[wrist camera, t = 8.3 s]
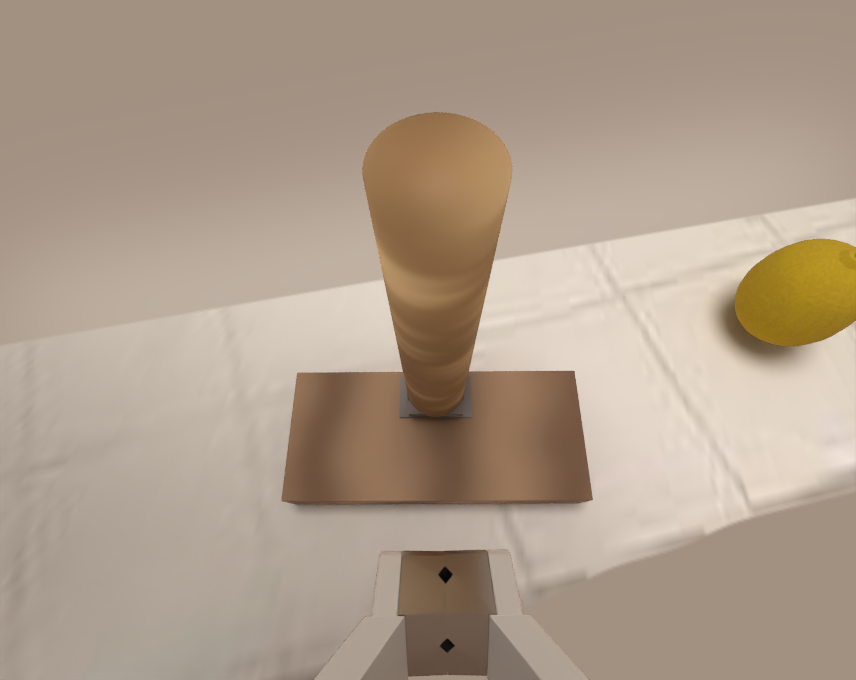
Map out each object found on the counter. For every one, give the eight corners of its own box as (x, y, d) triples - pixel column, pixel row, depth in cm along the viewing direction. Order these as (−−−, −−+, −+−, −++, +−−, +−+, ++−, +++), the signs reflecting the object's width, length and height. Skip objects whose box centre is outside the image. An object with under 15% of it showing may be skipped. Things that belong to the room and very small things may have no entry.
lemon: (705, 284, 31) (789, 205, 23) (789, 294, 30) (902, 217, 23) (714, 358, 28) (810, 297, 21) (804, 370, 28) (935, 311, 21)
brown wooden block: (295, 504, 25) (280, 500, 23) (308, 386, 28) (296, 371, 26) (578, 503, 25) (594, 499, 23) (562, 384, 28) (575, 369, 25)
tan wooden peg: (408, 421, 24) (358, 229, 8) (408, 368, 25) (366, 112, 10) (463, 420, 24) (518, 227, 8) (461, 368, 25) (506, 111, 9)
